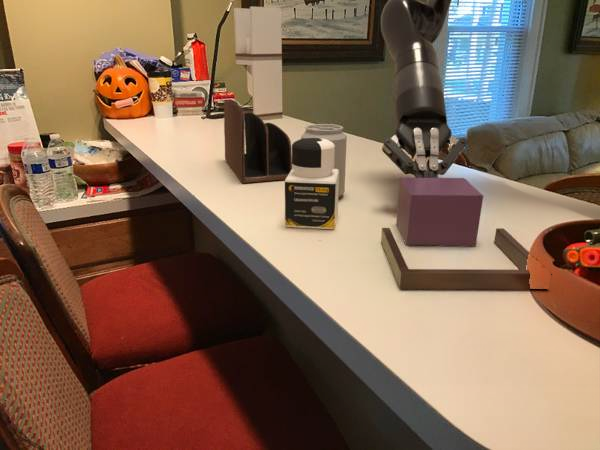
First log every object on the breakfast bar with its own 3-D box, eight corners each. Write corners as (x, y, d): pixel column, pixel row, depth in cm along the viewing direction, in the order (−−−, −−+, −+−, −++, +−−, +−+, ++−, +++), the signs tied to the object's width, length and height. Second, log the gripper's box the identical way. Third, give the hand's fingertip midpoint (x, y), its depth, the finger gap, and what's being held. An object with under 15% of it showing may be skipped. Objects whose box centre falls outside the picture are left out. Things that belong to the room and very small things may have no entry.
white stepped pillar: (265, 114, 172) (262, 9, 159) (282, 117, 164) (281, 8, 152) (238, 117, 166) (233, 8, 153) (255, 121, 158) (251, 6, 145)
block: (457, 224, 69) (463, 177, 66) (475, 246, 61) (483, 195, 59) (396, 223, 69) (399, 177, 66) (406, 245, 61) (411, 194, 59)
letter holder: (242, 184, 88) (238, 107, 83) (224, 160, 105) (221, 95, 100) (293, 179, 90) (292, 105, 85) (268, 157, 108) (266, 94, 103)
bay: (501, 242, 62) (503, 228, 62) (548, 290, 50) (552, 273, 50) (381, 241, 63) (381, 227, 62) (399, 289, 50) (401, 273, 50)
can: (345, 202, 78) (348, 129, 73) (300, 202, 78) (300, 129, 73) (343, 189, 85) (345, 122, 80) (301, 189, 85) (301, 122, 80)
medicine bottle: (284, 227, 67) (283, 144, 63) (292, 211, 74) (292, 134, 69) (334, 230, 66) (337, 145, 62) (337, 213, 73) (340, 135, 69)
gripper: (380, 83, 71) (387, 184, 64) (468, 84, 71) (484, 185, 64) (374, 113, 78) (379, 208, 71) (453, 114, 78) (466, 209, 71)
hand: (429, 197), depth 68 cm, fingers closed
